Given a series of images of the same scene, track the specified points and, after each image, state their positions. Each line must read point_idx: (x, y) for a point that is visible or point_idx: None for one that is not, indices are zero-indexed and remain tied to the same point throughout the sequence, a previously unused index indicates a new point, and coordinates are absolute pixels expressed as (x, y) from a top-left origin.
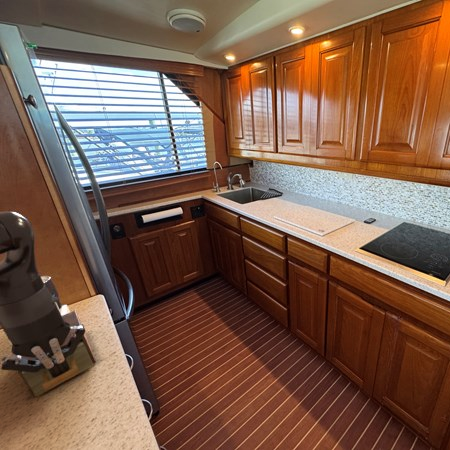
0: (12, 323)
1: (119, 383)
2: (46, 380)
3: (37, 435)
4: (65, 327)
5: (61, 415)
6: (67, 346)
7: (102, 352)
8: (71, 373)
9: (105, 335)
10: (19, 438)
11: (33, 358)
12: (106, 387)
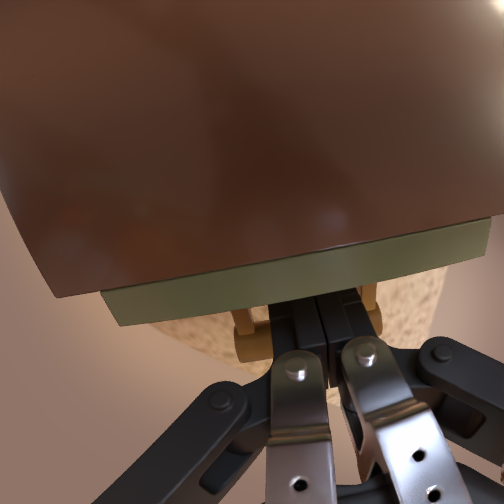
0: None
1: (419, 299)
2: (244, 321)
3: (214, 342)
4: None
5: (267, 319)
6: (441, 388)
7: None
8: None
9: None
10: (169, 325)
11: (147, 259)
12: (390, 293)
